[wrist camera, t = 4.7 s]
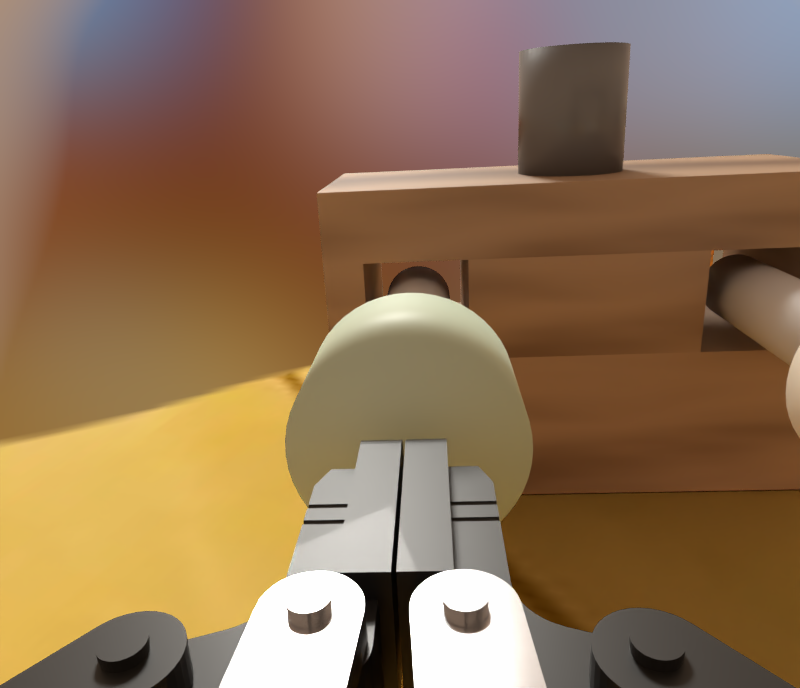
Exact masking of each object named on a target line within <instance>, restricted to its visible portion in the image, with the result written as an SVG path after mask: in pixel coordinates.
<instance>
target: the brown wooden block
mask: <svg viewBox="0 0 800 688" xmlns="http://www.w3.org/2000/svg"><path fill="white" fill-rule="evenodd" d="M317 201H318V213H319V224H320V236H321V247H322V257H323V269H324V280H325V291H326V304H327V315H328V326H329V332H330V331H331V330H332V329H333V327H334V326H335V325H336V324H337V323H338V322H339V321H340V320H341V319H342V318H343V317H344V316H346V315H347V314H349V313H350V312H351V311H353V310H354V309H356V308H357V307H359V306H361V305H363V304H365V303H367V302H369V301H372V300H374V299H377V298H380V297H383V286H382V271H381V263H395V262H422V261H448V260H460V277H461V279H460V280H461V303H459V304H461V305H463V306H465V307H466V308H468V309H470V310H471V311H473V312H474V313H476V314H477V315H478V316H479V317H481V318H482V319H483V320H484V321H485V322H486V323H487V324H488V325H489V326H490V327H491V328H492V329H493V330H494V332H495V333H496V334H497V336H498V337H499V339H500V340H501V342H502V344H503V346H504V347H505V349H506V351H507V354H508V356H509V359H510V362H511V365H512V368H513V371H514V374H515V377H516V380H517V384H518V387H519V390H520V393H521V396H522V399H523V402H524V405H525V409H526V412H527V415H528V418H529V421H530V426H531V431H532V438H533V457H532V466H531V470H530V474H529V478H528V480H527V483H526V485H525V488H524V490H523V492H522V494H560V493H617V492H675V491H733V490H791V489H800V438H799V436H798V435H797V433H796V431H795V430H794V428H793V426H792V423H791V421H790V418H789V415H788V411H787V406H786V382H787V377H788V373H789V368H790V365H788V364H787V363H785V362H784V361H782V360H781V359H780V358H778V357H777V356H775V355H774V354H773V353H771V352H770V351H768V350H767V349H765V348H764V347H763V346H761V345H760V344H758V343H757V342H755V341H754V340H753V339H751V338H750V337H748V336H747V335H745V334H744V333H743V332H741V331H740V330H738V329H737V328H736V327H734V326H733V325H731V324H730V323H728V322H727V321H726V320H724V319H723V318H721V317H720V316H718V315H717V314H716V313H714V312H713V311H711V310H710V309H709V308H708V307H707V306H706V297H707V288H708V279H709V270H710V261H711V251H712V250H723V257H726V256H729V255H735V254H741V255H747V256H750V257H752V258H754V259H756V260H759V261H761V262H763V263H765V264H767V265H770V266H772V267H774V268H776V269H779V270H781V271H783V272H785V273H787V274H790V275H792V276H794V277H796V278H799V279H800V158H795V157H787V156H779V155H770V154H761V155H739V156H717V157H695V158H674V159H652V160H632V161H623V170H622V171H620V172H616V173H610V174H600V175H586V176H528V175H521V174H518V166H501V167H479V168H457V169H436V170H414V171H393V172H371V173H349V174H343V175H342V176H341V177H339V178H338V179H336V180H335V181H333V182H332V183H331V184H329V185H328V186H326V187H325V188H323V189H322V190H320V191H319V192H318V193H317Z"/></svg>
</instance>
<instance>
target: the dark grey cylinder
mask: <svg viewBox="0 0 800 688" xmlns="http://www.w3.org/2000/svg"><path fill="white" fill-rule="evenodd" d="M629 60H630V44H629V43H616V42H614V43H613V42H609V43H608V42H607V43H585V44H584V43H583V44H569V45H558V46H548V47H540V48H534V49H528V50H524V51H520V52H519V129H518V130H519V137H518V140H519V141H518V146H519V147H518V174H521V175H528V176H586V175H600V174H610V173H616V172H620V171H622V170H623V158H624V142H625V125H626V109H627V92H628V76H629Z"/></svg>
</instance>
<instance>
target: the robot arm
mask: <svg viewBox="0 0 800 688" xmlns="http://www.w3.org/2000/svg"><path fill="white" fill-rule="evenodd" d="M402 674H403V688H795V687H794V686H792V685H791V684H789V683H787V682H786V681H784V680H782V679H781V678H779V677H778V676H776V675H774V674H773V673H771V672H770V671H768V670H766V669H765V668H763V667H761V666H760V665H758V664H757V663H755V662H753V661H752V660H750V659H748V658H747V657H745V656H744V655H742V654H740V653H739V652H737V651H736V650H734V649H732V648H731V647H729V646H727V645H726V644H724V643H723V642H721V641H719V640H718V639H716V638H714V637H713V636H711V635H710V634H708V633H706V632H705V631H703V630H701V629H700V628H698V627H697V626H695V625H693V624H692V623H690V622H688V621H686V620H684V619H683V618H680V617H678V616H676V615H673V614H671V613H667V612H664V611H660V610H655V609H649V608H628V609H623V610H619V611H616V612H613V613H611V614H609V615H607V616H605V617H604V618H603V619H602V620H601V621H599V622H598V624H597V625H596V627H595V628H594V631H593V633H590V632H586V631H582V630H578V629H573V628H569V627H565V626H562V625H559V624H555V623H553V622H550V621H548V620H546V619H544V618H542V617H540V616H538V615H537V614H535V613H534V612H532V611H531V610H530V609H528V608H527V607H526V606H525V605H524V604H523V603H522V602H521V601H520V598H519V596H518V594H517V593H516V592H515V590H514V589H513V588H512V584H511V580H510V575H509V569H508V563H507V557H506V552H505V546H504V540H503V535H502V529H501V523H500V520H499V512H498V506H497V500H496V495H495V489H494V483H493V481H492V480H491V479H490V478H489V477H488V476H487V475H486V474H485V473H484V472H483V470H482V469H481V468H480V467H479V466H449V467H448V455H447V439H446V438H442V439H406V441H405V454H404V449H403V440H366V441H361V443H360V448H359V452H358V457H357V462H356V467H355V469H331V470H330V471H329V472H328V473H327V474H326V475H325V476H324V477H323V478H322V479H321V480H320V481H319V482H318V483H317V484H316V485H315V486H314V489H313V492H312V495H311V498H310V502H309V508H307V511H306V515H305V518H304V524H302V528H301V531H300V534H299V538H298V541H297V544H296V547H295V551H294V554H293V557H292V560H291V564H290V567H289V570H288V573H287V577H286V579H284V580H282V581H280V582H278V583H277V584H275V585H274V586H272V587H271V588H270V589H269V590H267V591H266V592H265V593H264V594H263V596H262V597H261V598H260V599H259V601H258V603H257V605H256V607H255V609H254V611H253V613H252V616H251V618H250V620H249V621H248V622H246V623H243V624H241V625H239V626H236V627H233V628H230V629H227V630H223V631H219V632H216V633H212V634H208V635H204V636H200V637H196V638H192V639H188V640H187V635H186V630H185V628H184V626H183V624H182V623H181V622H180V621H179V620H178V619H177V618H175V617H173V616H172V615H169V614H166V613H163V612H157V611H143V612H135V613H130V614H126V615H123V616H120V617H117V618H114V619H112V620H110V621H107V622H105V623H104V624H102V625H100V626H98V627H96V628H95V629H93V630H91V631H90V632H88V633H86V634H85V635H83V636H81V637H80V638H78V639H76V640H75V641H73V642H71V643H70V644H68V645H66V646H65V647H63V648H61V649H60V650H58V651H56V652H55V653H53V654H51V655H50V656H48V657H46V658H45V659H43V660H42V661H40V662H38V663H37V664H35V665H33V666H32V667H30V668H28V669H27V670H25V671H23V672H22V673H20V674H18V675H17V676H15V677H13V678H12V679H10V680H8V681H7V682H5V683H3V684H2V685H0V688H401V680H402Z"/></svg>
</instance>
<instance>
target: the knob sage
mask: <svg viewBox="0 0 800 688" xmlns="http://www.w3.org/2000/svg"><path fill="white" fill-rule="evenodd" d="M442 438H446V439H447V455H448V467H449V466H479V467H480V468H481V469H482V470H483V472H484V473H485V474H486V475H487V476H488V477H489V478H490V479H491V480H492V481H493V483H494V489H495V495H496V500H497V506H498V512H499V520H500V522H501V521H502V520H503V519H504V518H505V517H506V516H507V515H508V513H509V512H510V511H511V509H512V508H513V507H514V506H515V504H516V503H517V501H518V499H519V498H520V496H521V494H522V492H523V490H524V488H525V485H526V483H527V480H528V478H529V474H530V470H531V466H532V457H533V438H532V431H531V426H530V421H529V418H528V415H527V412H526V409H525V405H524V402H523V399H522V396H521V393H520V390H519V387H518V384H517V380H516V377H515V374H514V371H513V368H512V365H511V362H510V359H509V356H508V354H507V351H506V349H505V347H504V346H503V344H502V342H501V340H500V339H499V337H498V336H497V334H496V333H495V332H494V330H493V329H492V328H491V327H490V326H489V325H488V324H487V323H486V322H485V321H484V320H483V319H482V318H481V317H479V316H478V315H477V314H476V313H474V312H473V311H471V310H470V309H468V308H466V307H465V306H463V305H461V304H459V303H456V302H454V301H452V300H450V297H449V290H448V286H447V284H446V282H445V280H444V279H443V277H442V276H441V275H440V274H439V273H437V272H436V271H434V270H432V269H430V268H427V267H422V266H419V267H418V266H417V267H411V268H408V269H405V270H403V271H401V272H400V273H399V274H398V275H397V276H396V277H395V278H394V279H393V281H392V283H391V285H390V287H389V291H388V295H387V296H384V297H380V298H377V299H374V300H372V301H369V302H367V303H365V304H363V305H361V306H359V307H357V308H356V309H354V310H353V311H351V312H350V313H349V314H347V315H346V316H344V317H343V318H342V319H341V320H340V321H339V322H338V323H337V324H336V325H335V326H334V327H333V329H332V330H331V331H330V332H329V334H328V335H327V337H326V338H325V340H324V342H323V343H322V345H321V347H320V349H319V351H318V353H317V355H316V357H315V360H314V362H313V364H312V366H311V368H310V370H309V372H308V374H307V376H306V379H305V381H304V383H303V385H302V387H301V389H300V391H299V393H298V395H297V398H296V400H295V402H294V405H293V407H292V409H291V412H290V415H289V419H288V423H287V428H286V438H285V447H286V458H287V464H288V469H289V472H290V475H291V478H292V481H293V483H294V485H295V487H296V489H297V491H298V493H299V495H300V497H301V498H302V500H303V501H304V503H305V504H306V506H307V507H308V508H309V502H310V498H311V495H312V492H313V489H314V486H315V485H316V484H317V483H318V482H319V481H320V480H321V479H322V478H323V477H324V476H325V475H326V474H327V473H328V472H329V471H330V470H331V469H355V467H356V462H357V457H358V452H359V448H360V443H361V441H366V440H403V449H404V454H405V441H406V439H442Z"/></svg>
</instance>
